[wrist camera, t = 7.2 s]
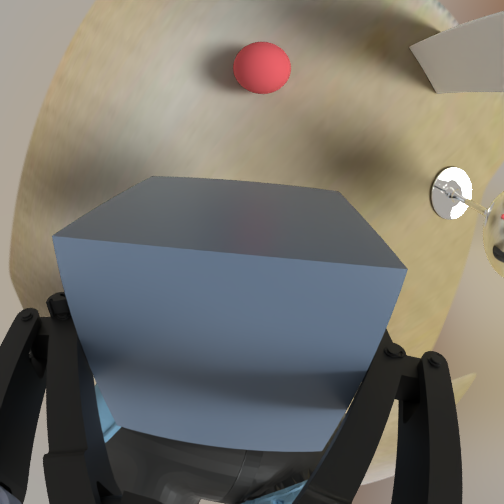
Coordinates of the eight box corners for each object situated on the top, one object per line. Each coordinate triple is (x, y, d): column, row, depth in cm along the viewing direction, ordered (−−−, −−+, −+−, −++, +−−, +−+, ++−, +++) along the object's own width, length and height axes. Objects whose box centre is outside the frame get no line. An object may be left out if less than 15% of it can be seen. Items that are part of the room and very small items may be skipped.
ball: (286, 98, 25) (290, 93, 20) (234, 94, 25) (227, 88, 21) (290, 52, 23) (295, 38, 18) (238, 48, 23) (232, 33, 18)
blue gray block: (307, 338, 19) (321, 451, 11) (162, 323, 19) (117, 425, 12) (338, 191, 15) (407, 269, 7) (152, 176, 15) (51, 235, 7)
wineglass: (469, 227, 29) (562, 305, 13) (419, 225, 29) (516, 317, 13) (478, 164, 26) (591, 215, 9) (427, 154, 26) (552, 204, 10)
